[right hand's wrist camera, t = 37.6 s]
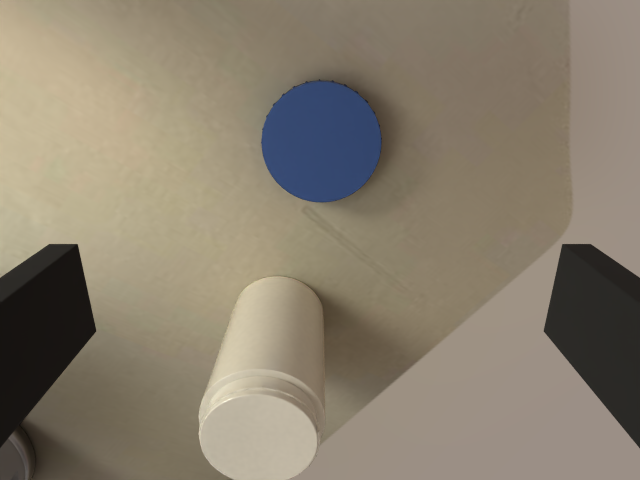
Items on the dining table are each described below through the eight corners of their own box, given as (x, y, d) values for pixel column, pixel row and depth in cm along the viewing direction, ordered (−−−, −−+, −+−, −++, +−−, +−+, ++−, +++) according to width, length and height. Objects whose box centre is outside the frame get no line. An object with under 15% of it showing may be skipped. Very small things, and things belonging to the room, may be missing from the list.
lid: (397, 104, 36) (402, 107, 34) (354, 211, 39) (355, 218, 37) (284, 61, 34) (282, 61, 33) (249, 174, 38) (245, 180, 36)
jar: (239, 355, 44) (201, 492, 30) (228, 277, 41) (181, 390, 27) (325, 352, 44) (328, 488, 30) (321, 274, 41) (322, 385, 27)
